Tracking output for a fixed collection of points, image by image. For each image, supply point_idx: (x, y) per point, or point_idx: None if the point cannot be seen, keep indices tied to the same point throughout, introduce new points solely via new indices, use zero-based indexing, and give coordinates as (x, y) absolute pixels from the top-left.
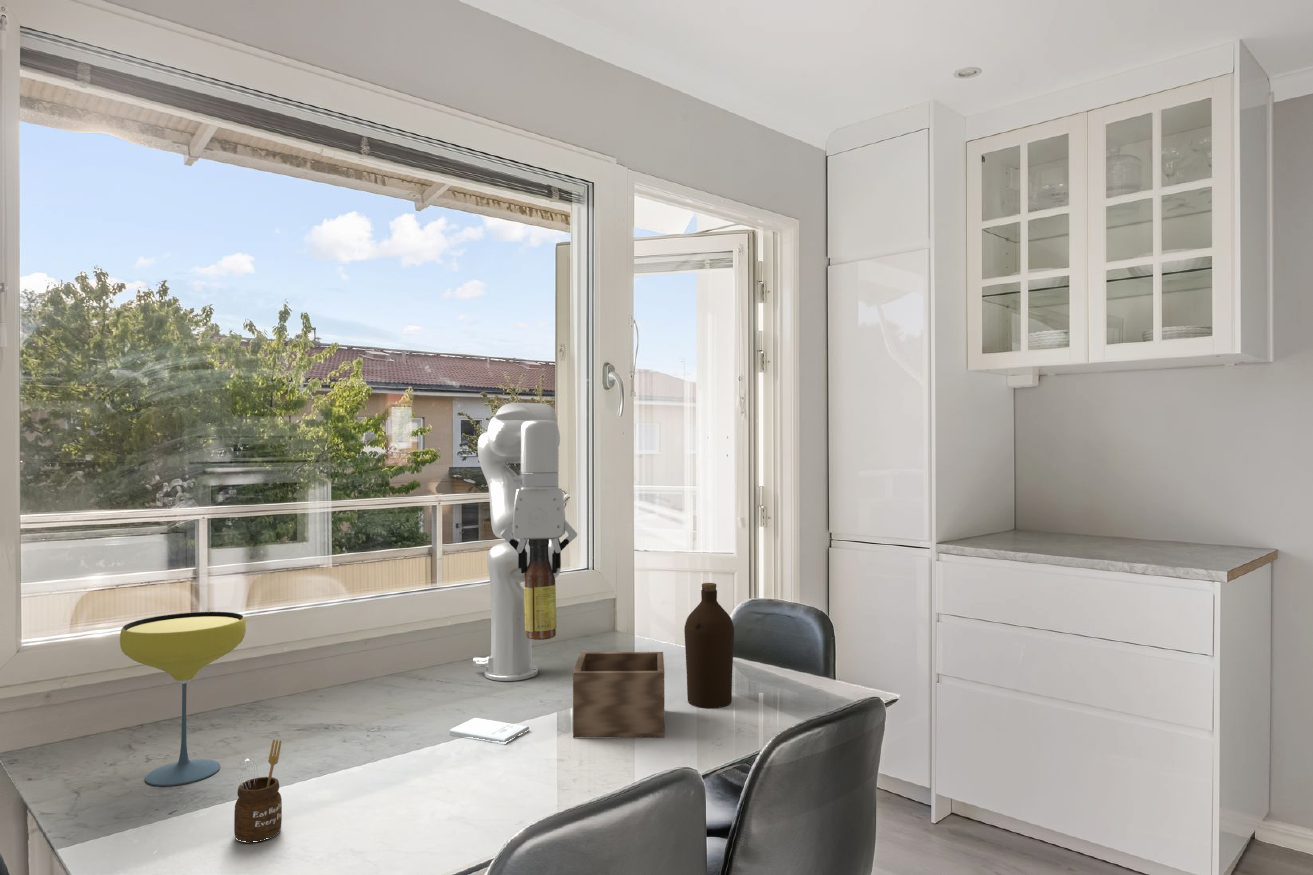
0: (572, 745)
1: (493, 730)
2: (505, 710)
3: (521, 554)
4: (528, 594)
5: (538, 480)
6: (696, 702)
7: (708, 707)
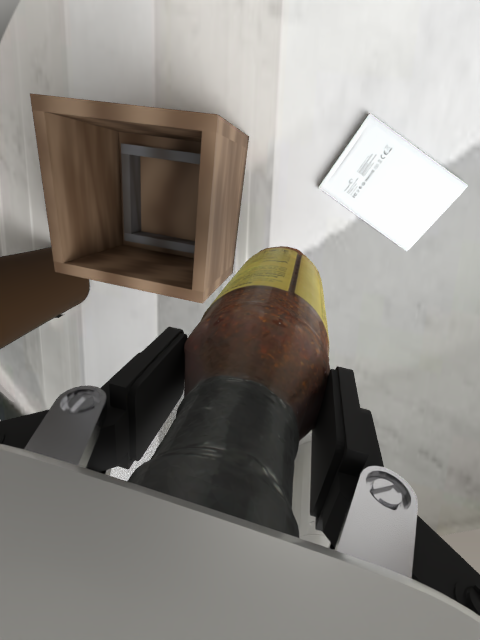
0: (251, 94)
1: (384, 170)
2: (347, 299)
3: (365, 445)
4: (314, 297)
5: None
6: None
7: None
